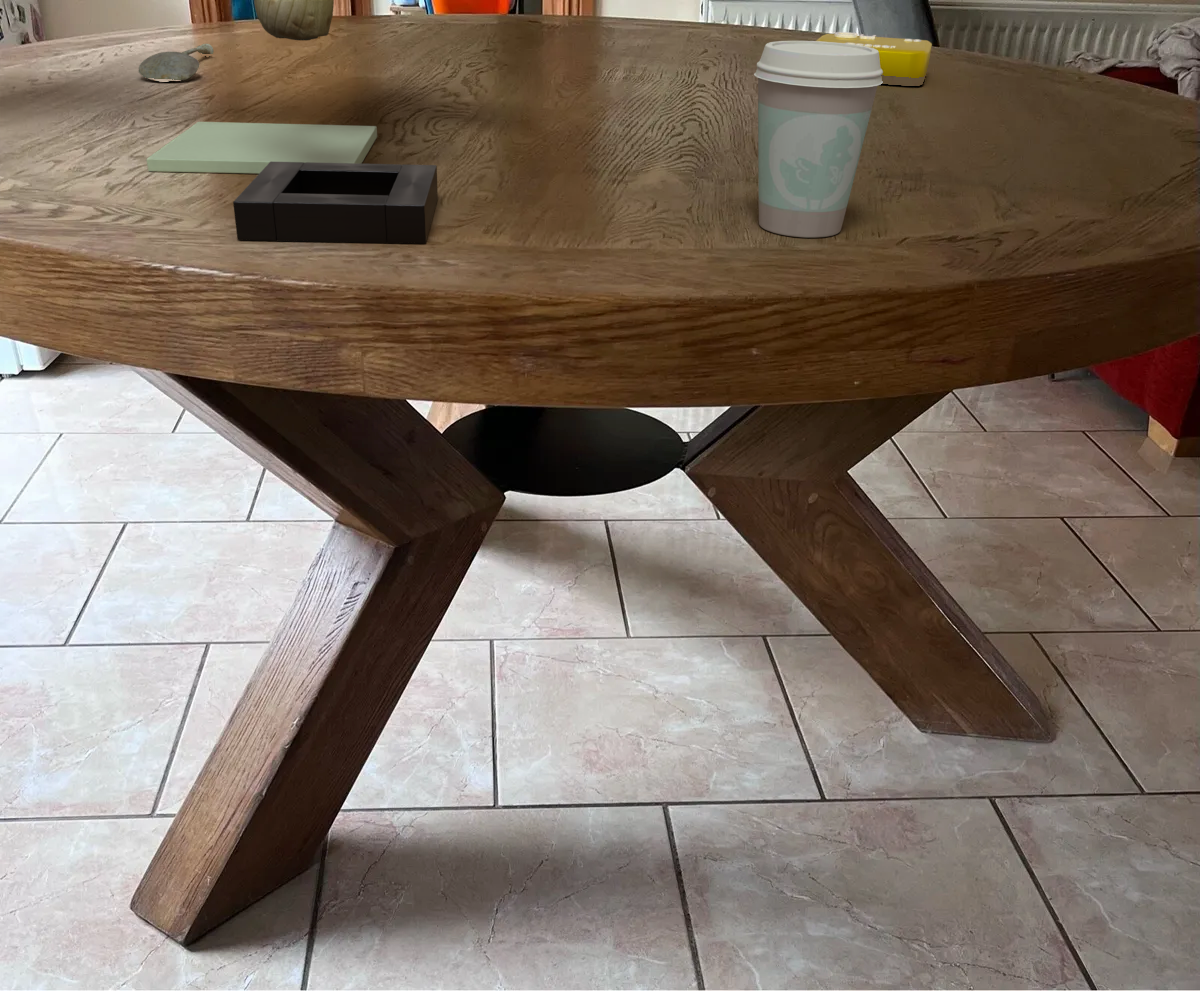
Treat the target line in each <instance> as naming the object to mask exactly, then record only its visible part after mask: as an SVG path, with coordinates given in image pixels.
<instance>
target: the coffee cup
mask: <svg viewBox="0 0 1200 991" xmlns="http://www.w3.org/2000/svg"><path fill="white" fill-rule="evenodd" d="M882 74H883V71H882V69H881V68H880V59H879V51H878V50H876V49H874V48H870V47H866V46H860V45H854V44H846V43H836V42H822V41H816V40H778V41H771V42H768V43H766V44H764V48H763V51H762V53H761V57H760V59H759V60H758V61H757V63H756V70H755V72H754V74H753V75H754V77H755V78H757V143H758V144H757V148H758V150H757V155H758V156H757V159H758V160H757V164H758V166H757V168H758V170H757V172H758V174H757V175H758V177H757V178H758V225H759V226H760V227H761V228H762V229H763V230H765V231H767V232H769V233H772V234H775V235H780V236H785V237H793V238H802V239H803V238H805V239H806V238H807V239H818V238H826V237H828V238H829V237H832V236H835V235H837V234H839V233H841V231H842V228H843V223H844V219H845V217H846V216H845V215H846V212H847V207H848V204H849V202H850V201H849V200H850V196H851V193H852V188H853V185H854V181H855V177H856V173H857V169H858V165H859V161H860V157H861V154H862V153H861V152H862V149H863V145H864V141H865V137H866V133H867V129H868V125H869V121H870V117H871V114H872V110H873V105H874V101H875V98H876V92H877V89H878V86H882V85H881V84H882V83H883V81H882V76H881V75H882Z"/></svg>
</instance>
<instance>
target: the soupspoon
mask: <svg viewBox="0 0 1200 991" xmlns="http://www.w3.org/2000/svg"><path fill="white" fill-rule="evenodd" d="M197 52H198V53H199V54H201V53H202V54H213V55H214V53H215V51H214V47H213V46H212V45H211V44H210V43H202V44H201V45H197V46H196V47H193V48H190V49H187V50H184V51H182V52H180V51H161V52H158V53H155V54H153V55H151V56H149V57H147V58H145V59H144V60H143V61H141V62H140V63H139V67H138V69H137V70H138V73H139V74H140V75H141V76H142V77H143V78H145V77H146V78H154V79H172V80H173V79H174V80H183V81H186V80H188V79H190V78H192V77H193V76H194V75H195V74H196V73H197V72H198V70H199V68H200V62H199V60H198V59H197V58H196V57H193V56H192V54H194V53H197ZM146 78H145V79H146Z"/></svg>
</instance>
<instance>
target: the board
mask: <svg viewBox="0 0 1200 991" xmlns="http://www.w3.org/2000/svg"><path fill="white" fill-rule="evenodd" d="M377 138H378V128H377V126H376V125H349V124H348V125H345V124H344V125H343V124H306V123H305V124H304V123H303V124H302V123H266V122H264V123H263V122H229V121H228V122H226V121H225V122H223V121H196V122H195V123H194V124H193V125H191V126H190V127H189V128H187V129H186V130H184V131H183V132H182V133H180V134H179V135H178V136H176V137H175V138H173V139H172V140H171V141H169V142H167V144H165V145H163V146H162V147H160V148H159V149H158V150H157V151H155V152H154V153H152V154H151V155H150V156H148V157H147V158H146V159H145V160H146V168H147V171H148V172H158V173H159V172H160V173H199V174H200V173H203V174H205V173H206V174H207V173H208V174H209V173H210V174H213V173H214V174H248V175H249V174H251V175H252V174H253V175H259V173H260V172H261V171H262V170H263V169H264V168H265V167H266V166H267V165H268V164H269V163H270V162H304V163H305V162H314V163H358V164H363V162H364V160H365V158H366V156H367V155H368V153H369V151H370V150H371V148H372V146H373V145H374V143H375V142H376V139H377Z"/></svg>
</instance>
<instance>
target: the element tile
mask: <svg viewBox="0 0 1200 991" xmlns="http://www.w3.org/2000/svg"><path fill="white" fill-rule="evenodd" d="M815 41H822V42H836V43H846V44H854V45H860V46H866V47H870V48H874V49H876V50H878V51H879V59H880V68H881V69H882V71H883V74H882V75H884V76H896V77H909V78H910V77H911V78H919V77H924V76H925V75H926V72H927V68H928V69H929V66H930V59H931V52H932V48H933V43H932V42H931V41H929V40H926V39H918V38H917V39H913V38H899V37H882V36H877V34H873V35H865V34H864V33H861V34H859V35H858V33H856V32H849V31H836V32H834V33H827V34H826V33H825V34H823V35H821V36H820V37H818V38H817V39H816V40H815ZM928 65H929V66H928ZM927 73H928V72H927ZM926 76H927V75H926Z"/></svg>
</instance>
